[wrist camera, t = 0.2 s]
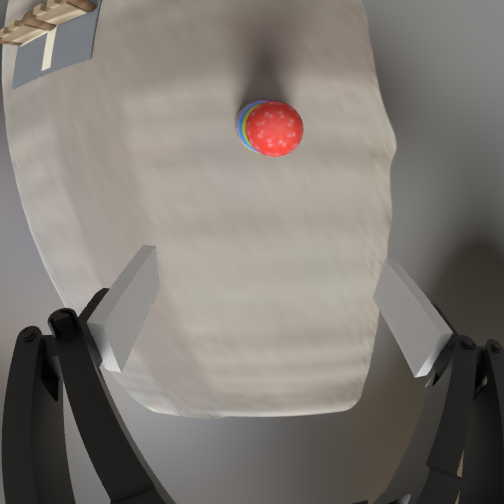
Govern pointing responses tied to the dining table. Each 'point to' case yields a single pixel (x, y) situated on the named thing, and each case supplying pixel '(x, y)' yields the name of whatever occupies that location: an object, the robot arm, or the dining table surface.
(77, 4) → the hinged fence panel
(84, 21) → the card
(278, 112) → the stacking toy
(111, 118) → the dining table surface
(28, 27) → the fixed fence section
